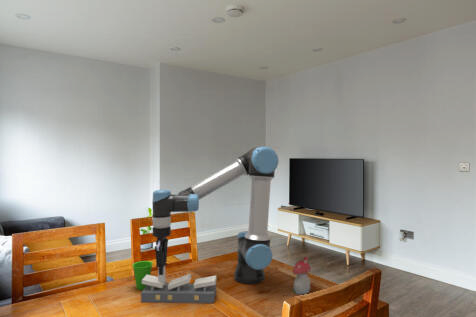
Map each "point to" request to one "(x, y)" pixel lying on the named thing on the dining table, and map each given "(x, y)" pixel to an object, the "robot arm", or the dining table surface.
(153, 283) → the rocker
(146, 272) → the cup
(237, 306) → the dining table surface
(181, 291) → the switch unit
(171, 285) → the rocker
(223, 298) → the dining table surface
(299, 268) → the decorative ornament
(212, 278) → the rocker
